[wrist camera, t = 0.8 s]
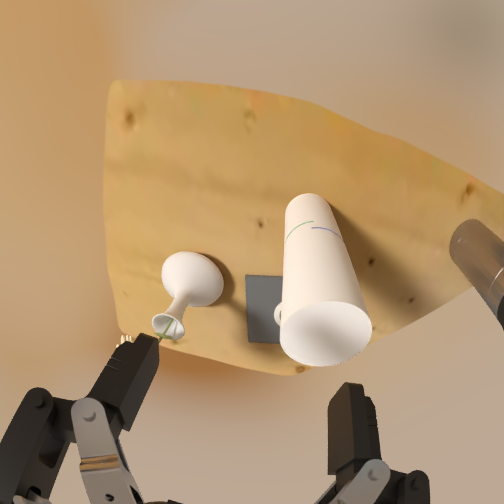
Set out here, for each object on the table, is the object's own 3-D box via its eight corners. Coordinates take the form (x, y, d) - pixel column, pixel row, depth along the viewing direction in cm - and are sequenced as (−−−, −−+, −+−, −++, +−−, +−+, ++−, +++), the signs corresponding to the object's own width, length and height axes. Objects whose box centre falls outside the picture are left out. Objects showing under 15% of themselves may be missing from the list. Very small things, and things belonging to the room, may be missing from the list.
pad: (350, 278, 46) (351, 281, 45) (336, 342, 54) (336, 346, 53) (245, 274, 48) (244, 278, 47) (248, 339, 56) (248, 343, 55)
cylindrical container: (328, 239, 43) (357, 366, 21) (283, 235, 44) (276, 363, 22) (334, 195, 40) (383, 303, 18) (286, 191, 40) (284, 297, 19)
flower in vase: (201, 235, 46) (134, 349, 24) (237, 287, 50) (204, 411, 28) (147, 265, 50) (76, 365, 28) (183, 309, 54) (135, 415, 32)
